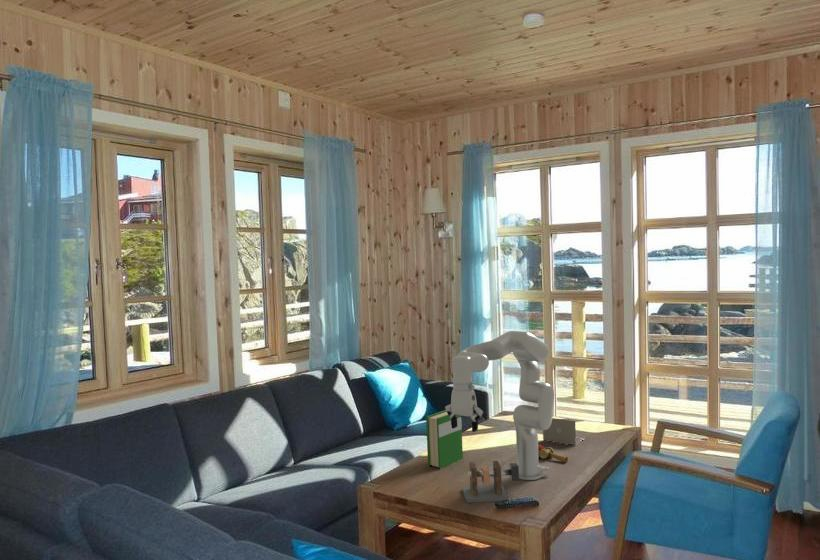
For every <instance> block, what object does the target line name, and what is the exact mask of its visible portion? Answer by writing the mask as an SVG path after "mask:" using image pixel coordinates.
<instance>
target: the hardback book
mask: <svg viewBox="0 0 820 560" xmlns="http://www.w3.org/2000/svg"><path fill="white" fill-rule="evenodd" d="M450 410H451V408H450ZM456 417H457V427H456V428H452V425H451V418H450V416H449V415H448V414H447V411H446V409H444V410H441V411H438V412H435V413H432V414H429V415H426V416H425V420H426V421H425V424H426V427H425V428H426V444H427V445H426V450H427V467H428V466H430V465H432V466H430V467H436V468H438V469H439V468H443V467H445V466H447V465H449V466H451V465H450V464H452V463H454V462H456V463H458V462H459V461H458V460H461V459H464V454H463V427H462V416H461V415H456ZM457 461H458V462H457ZM461 461H462V460H461ZM454 464H455V463H454ZM452 465H453V464H452ZM447 467H448V466H447ZM445 468H446V467H445ZM443 469H444V468H443Z"/></svg>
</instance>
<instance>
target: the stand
mask: <svg viewBox="0 0 820 560" xmlns="http://www.w3.org/2000/svg"><path fill="white" fill-rule="evenodd" d="M468 466H469V467H468V468H469V471H471V477H469V486H470V489H471V492H472V495H473V496H478V491H477V486H478V477H477V471H478V469H477V466H476V464H475V462H474V461H470V462H468ZM492 470H495V471H496V476H493V485H494V489H495V491H496V493H497V495H498V494H502V485H503V484H502V483H503V482H502V476H501V470H502V466H501V464H500V462H499V461H498V460H493V461H492Z"/></svg>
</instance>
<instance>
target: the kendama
mask: <svg viewBox="0 0 820 560" xmlns="http://www.w3.org/2000/svg"><path fill="white" fill-rule="evenodd" d="M538 455H539V457H540V458H541V459H546V458H549V457H551V458H553V459H556V460H558V461H560V462H563V463H564V462H565V464H566V462H567V463H568V461H569V457H568V456H565V455H563V454H558V453H555V450H554V449H553V448H552V447H546V448H545V447H544V446H543V445H541V444H538Z"/></svg>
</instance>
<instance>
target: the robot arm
mask: <svg viewBox="0 0 820 560" xmlns="http://www.w3.org/2000/svg"><path fill="white" fill-rule="evenodd" d="M548 347H549V346H547V344H546V343H545V342H543V340H542V339H540V338H538V337H537V336H535V335H534V334H532V333H531V332H528V331H521V330H520V331H518V330H509V331H506V332H504V333H503V334H501V335H499V336H497V337H495V338H493V339H492V340H490V341H485V342H482V343H477V344H474V345H470V346H468V347H466V348H464V349H462V350H461V351H459V352H457V355H455V356H453V357H452V359H451V365H452V366H451V367H452V384H453V385H452V387H453V388H452V391H451V396H450V397H451V399H450V404H447V405H446V406H444V408H445V409H444V410H446V411H447V414H448V415H449V416H450V418H451V425H452V428H456V427H457V417H456V415H461V417H462V416H463V417H468V418H469V417H470V419H471V420H472V421H471V432H472V433H475V432H476V431H478V429H479V420H480V419H481V418H482V416H483V414H484V410H482V409H481V408H480V407H478V403H477V397H476V396H477V395H476V392H475V385H474V384H473V378H472V377H473V376H472V374H473V373H482V372H485V371H486V370H487V369H488V367H489V365H490V361H498V360H501V359H503V358H505V357H506V356H508V355H509V354H511V353H512V355H513V357H515V359H516V360H517V362H518V363H519V367H520V379H519V388H518V389H519V390H518V396H519V398H520V400H521V401H523V402H526V403H531V404H537V405H538V406H535V405H529V404H519V405H517V406H516V407H515V408H514V410H513V413H512V419H513V423H514V427H515V438H516V440H515V443H516V463H517V465H518V466H519V480H524V481H535V480H540V479H541V478H543V475H544V474H543V472H550V471H551V468H550V466H546V465H542V466H541V465H540V464H539V463H540V462H539V455H538V445H539V435H538V432H537V430H538V431H543V430H547V429H548V428H549V427H550V425H551V423H552V418H553V416H554V415H553V414H554V403H555V391H554V390H555V389H554V388H553V386H552V385H551V384H550V383H547V382H542V381H541V380H540V379H541V368H540V365H539V364H538V363H543V362H545V361H546V360H548V358H549V354H550V351H549V348H548ZM450 409H451V410H450Z"/></svg>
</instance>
